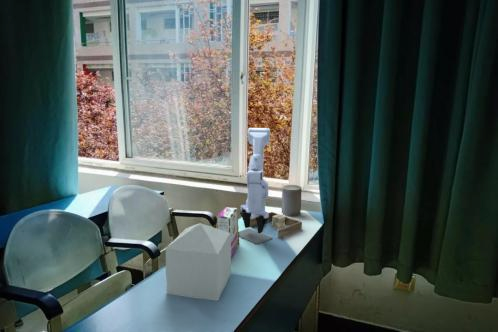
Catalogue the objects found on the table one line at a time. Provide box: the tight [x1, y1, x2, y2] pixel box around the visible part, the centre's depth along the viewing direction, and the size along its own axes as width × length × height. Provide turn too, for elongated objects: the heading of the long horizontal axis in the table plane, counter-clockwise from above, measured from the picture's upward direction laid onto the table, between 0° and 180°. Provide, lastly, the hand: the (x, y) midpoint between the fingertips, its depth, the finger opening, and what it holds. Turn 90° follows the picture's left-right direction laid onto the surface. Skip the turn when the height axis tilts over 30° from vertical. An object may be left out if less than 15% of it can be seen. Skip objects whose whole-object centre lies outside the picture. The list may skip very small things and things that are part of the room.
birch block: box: [271, 213, 286, 230], centre depth 157 cm, size 4×4×5 cm
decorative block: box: [165, 222, 232, 302], centre depth 107 cm, size 16×16×20 cm
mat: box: [238, 227, 273, 245], centre depth 146 cm, size 14×9×1 cm, turn 45°
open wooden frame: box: [249, 211, 303, 239], centre depth 156 cm, size 18×15×4 cm
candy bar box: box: [216, 206, 238, 259], centre depth 129 cm, size 11×5×16 cm, turn 168°
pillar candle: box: [281, 184, 303, 217], centre depth 175 cm, size 10×10×15 cm
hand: (253, 230), depth 146 cm, fingers open, 7 cm apart
